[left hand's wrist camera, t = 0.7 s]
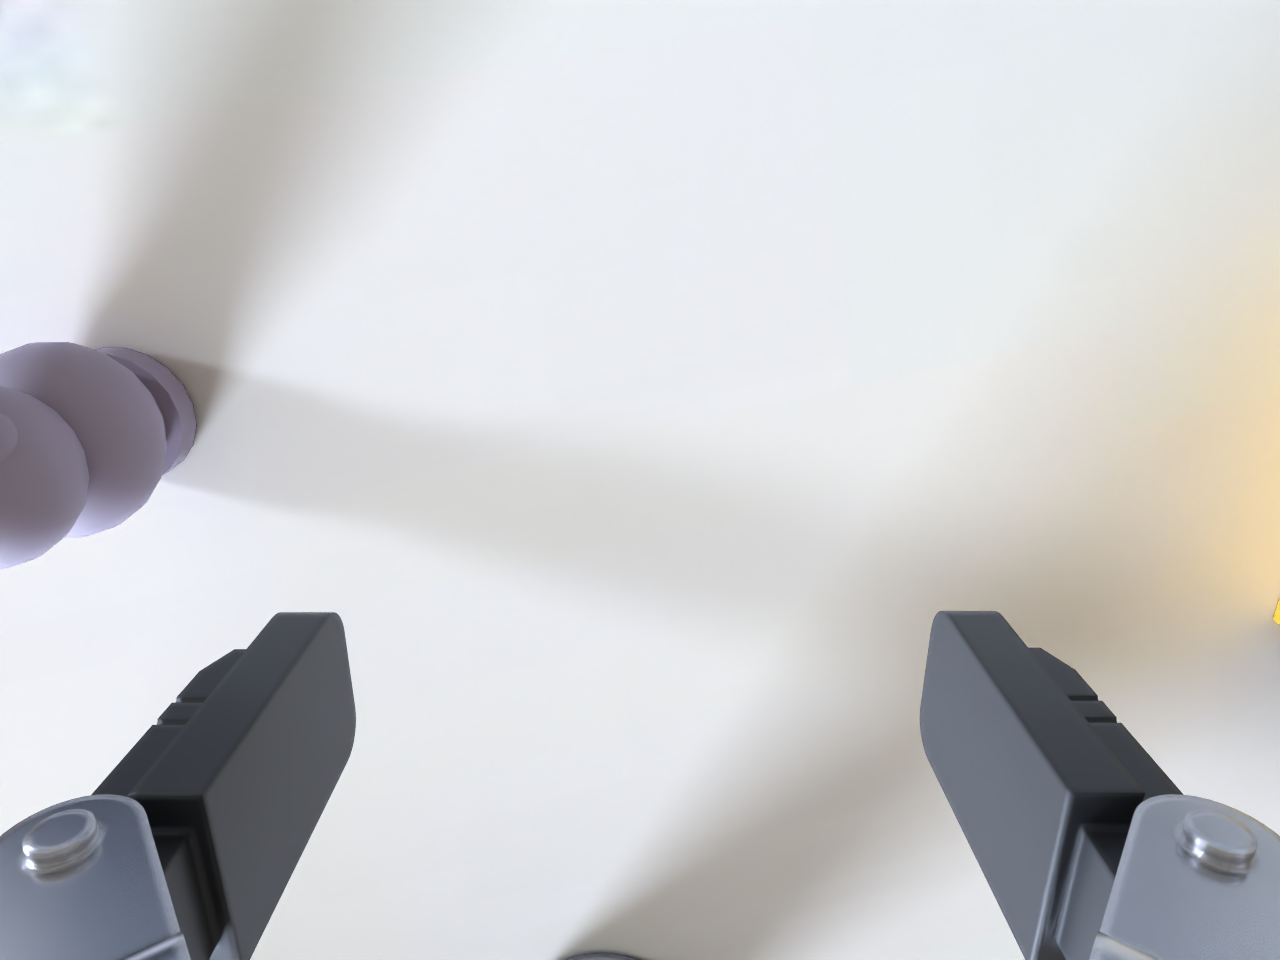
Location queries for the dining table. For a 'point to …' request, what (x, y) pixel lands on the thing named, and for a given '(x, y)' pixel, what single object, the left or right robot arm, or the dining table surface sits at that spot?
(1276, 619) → the yellow box
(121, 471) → the grey rounded figurine
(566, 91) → the dining table surface
